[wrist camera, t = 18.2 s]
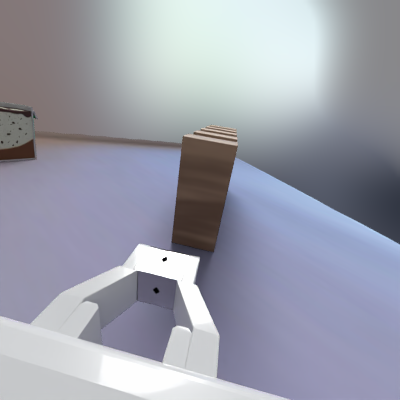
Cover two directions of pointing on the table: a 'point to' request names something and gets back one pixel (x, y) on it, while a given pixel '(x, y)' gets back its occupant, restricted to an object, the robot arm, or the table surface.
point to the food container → (17, 132)
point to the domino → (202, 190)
